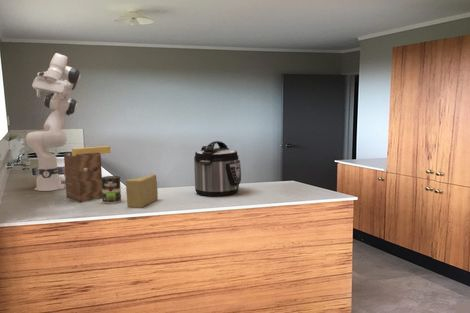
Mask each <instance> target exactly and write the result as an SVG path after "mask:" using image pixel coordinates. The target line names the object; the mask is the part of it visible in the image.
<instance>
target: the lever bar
mask: <svg viewBox="0 0 470 313" xmlns="http://www.w3.org/2000/svg"><path fill="white" fill-rule="evenodd" d="M71 153H72V156H76V154H88V153H100V154H101V155H102V154H104V155H105V154H111V146H108V145H105V146H94V147H90V146H89V147H80V148H78V147H77V148H71Z"/></svg>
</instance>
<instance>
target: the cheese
mask: <svg viewBox="0 0 470 313" xmlns="http://www.w3.org/2000/svg"><path fill="white" fill-rule="evenodd" d="M157 180H158V179H157V175H156V174H154V173H153V174H149V175H145V176H141V177H138V178H131V179H126V180H125V190H126V191H125V193H126V203H127V204H126V206H127V207H128V208H138V209H140V208H143V207H146V206H148V205H149V204H152V203H154V202H156V201H157V200H158V199H159V198H158V197H159V196H158V195H159V193H158V181H157Z"/></svg>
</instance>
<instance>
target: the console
mask: <svg viewBox="0 0 470 313" xmlns="http://www.w3.org/2000/svg"><path fill="white" fill-rule="evenodd" d="M63 162H64V164H63V165H64V166H65V176H64V178H65V179H64V180H65V194H66V199H68V198H69V200H71V201H76V202H78V201H79V203H83V202H89V201H94V200H95V201H96V200H99V199H100V200H101V199H102V179H101V178H102V177H103V176H102V175H103V172H102V171H103V170H102V154H100V153H88V154H76V156H72V152H64V154H63Z"/></svg>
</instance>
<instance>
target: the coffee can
mask: <svg viewBox="0 0 470 313" xmlns="http://www.w3.org/2000/svg"><path fill="white" fill-rule="evenodd" d="M101 179H102V198H101V199H102V203H103V204H117V203H121V202H122V193H121V189H122V188H121V176H118V175H106V176H102V178H101Z"/></svg>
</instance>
